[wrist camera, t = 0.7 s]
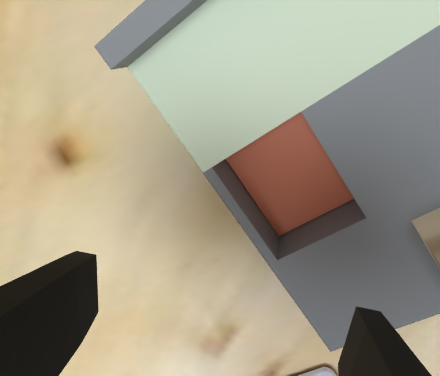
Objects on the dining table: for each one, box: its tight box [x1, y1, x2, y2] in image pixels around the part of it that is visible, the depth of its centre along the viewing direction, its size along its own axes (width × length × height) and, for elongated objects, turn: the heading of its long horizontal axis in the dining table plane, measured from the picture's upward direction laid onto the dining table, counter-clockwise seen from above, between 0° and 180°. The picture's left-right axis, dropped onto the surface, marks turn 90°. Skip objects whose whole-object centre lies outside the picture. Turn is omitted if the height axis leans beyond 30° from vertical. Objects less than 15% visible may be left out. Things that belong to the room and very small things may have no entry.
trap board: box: [94, 0, 440, 352], centre depth 14 cm, size 18×17×4 cm
